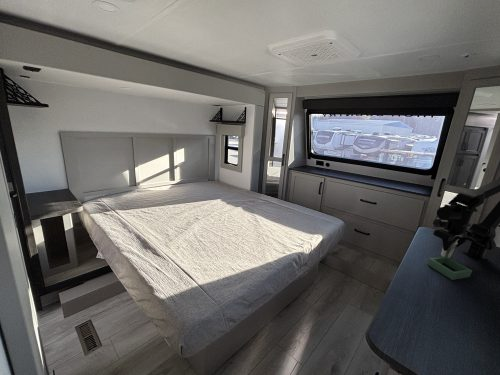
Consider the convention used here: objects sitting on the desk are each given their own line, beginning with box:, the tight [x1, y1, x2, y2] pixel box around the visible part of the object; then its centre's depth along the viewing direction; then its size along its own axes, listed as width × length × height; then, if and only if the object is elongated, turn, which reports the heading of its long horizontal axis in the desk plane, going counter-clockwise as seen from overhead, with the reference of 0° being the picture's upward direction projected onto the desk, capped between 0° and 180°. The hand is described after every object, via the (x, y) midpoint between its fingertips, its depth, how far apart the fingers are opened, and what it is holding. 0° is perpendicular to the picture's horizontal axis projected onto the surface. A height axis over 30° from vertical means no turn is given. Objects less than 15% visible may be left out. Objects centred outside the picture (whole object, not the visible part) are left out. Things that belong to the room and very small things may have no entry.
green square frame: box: [426, 256, 473, 281], centre depth 93 cm, size 10×10×3 cm
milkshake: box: [440, 238, 460, 259], centre depth 102 cm, size 4×5×10 cm
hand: (448, 249), depth 103 cm, fingers closed on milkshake, 4 cm apart
